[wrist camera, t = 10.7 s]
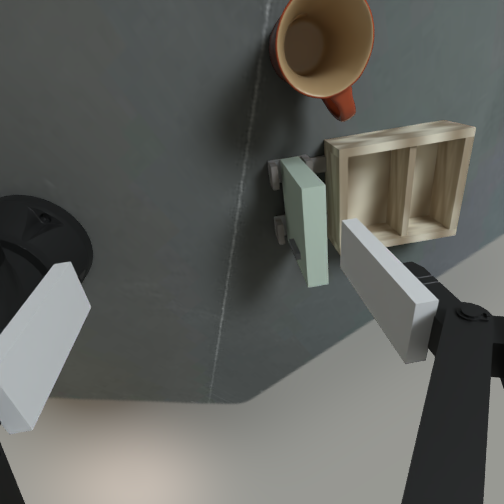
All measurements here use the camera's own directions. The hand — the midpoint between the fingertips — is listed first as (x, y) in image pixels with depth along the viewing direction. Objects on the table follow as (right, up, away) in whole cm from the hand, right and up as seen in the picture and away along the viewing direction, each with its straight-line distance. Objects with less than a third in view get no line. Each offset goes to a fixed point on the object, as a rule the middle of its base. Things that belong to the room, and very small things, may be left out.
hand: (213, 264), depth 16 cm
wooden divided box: (+16, +10, +30) cm, 36 cm away
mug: (+8, +23, +22) cm, 33 cm away
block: (+8, +8, +30) cm, 31 cm away
